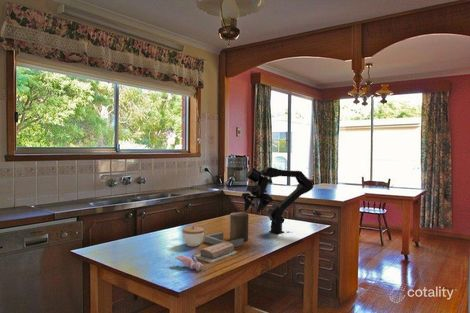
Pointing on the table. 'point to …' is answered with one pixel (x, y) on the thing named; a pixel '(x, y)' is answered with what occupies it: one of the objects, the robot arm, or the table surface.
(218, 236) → the bay
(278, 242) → the table surface
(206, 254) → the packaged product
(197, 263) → the rabbit figure
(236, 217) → the pillar candle
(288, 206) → the robot arm
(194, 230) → the lidded jar
